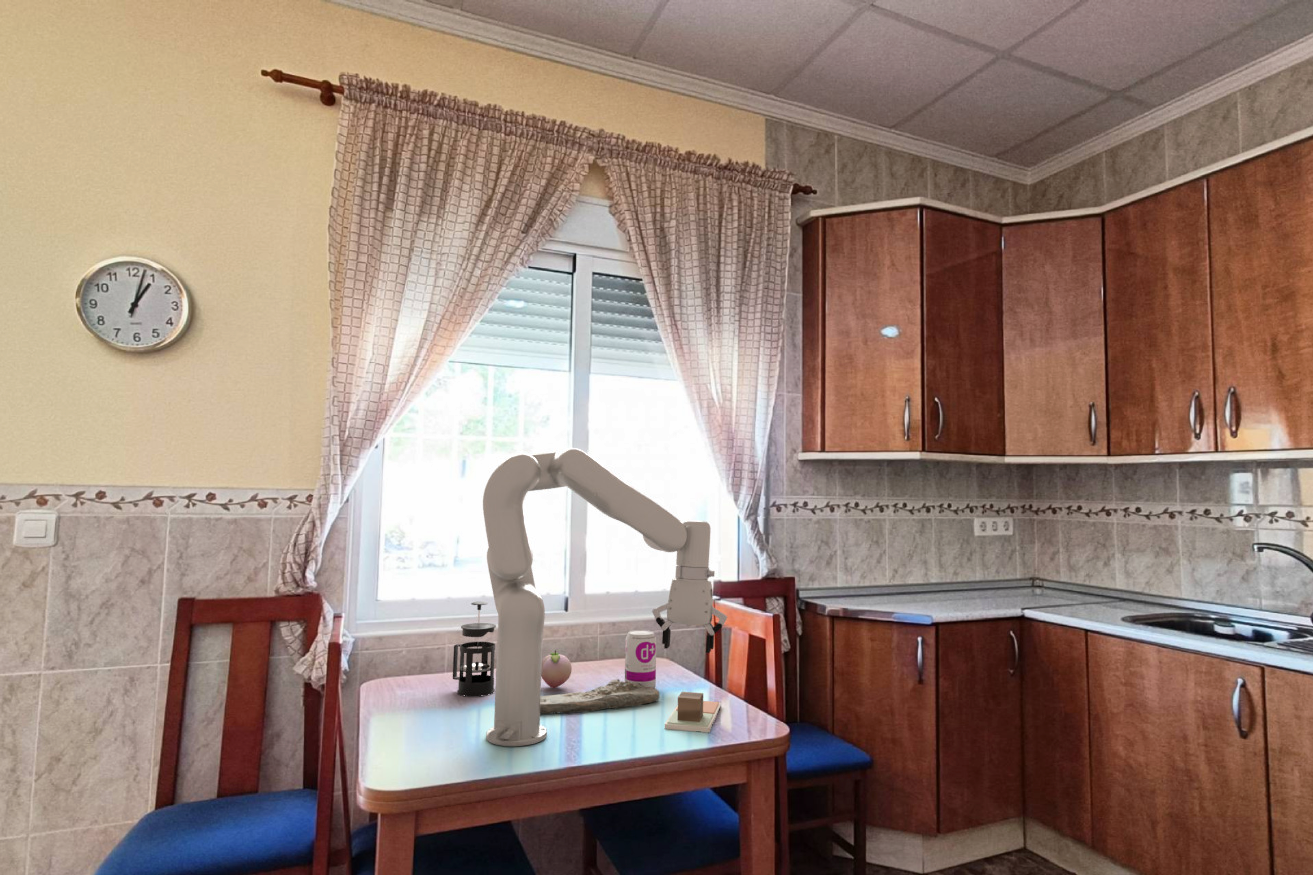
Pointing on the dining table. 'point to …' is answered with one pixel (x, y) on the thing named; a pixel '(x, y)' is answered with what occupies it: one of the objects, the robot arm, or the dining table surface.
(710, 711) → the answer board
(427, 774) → the dining table surface
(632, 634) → the supplement can
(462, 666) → the french press
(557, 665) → the decorative fruit
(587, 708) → the elongated rock
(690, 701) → the walnut cube
